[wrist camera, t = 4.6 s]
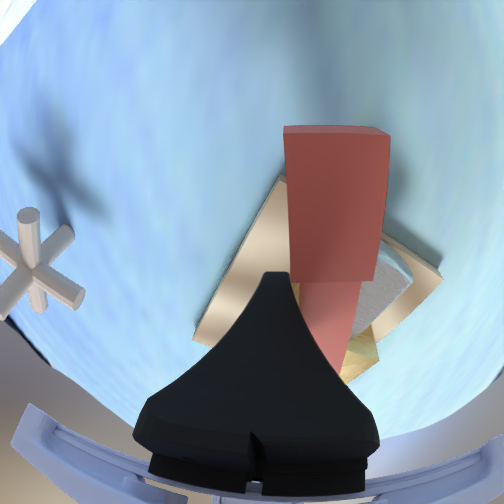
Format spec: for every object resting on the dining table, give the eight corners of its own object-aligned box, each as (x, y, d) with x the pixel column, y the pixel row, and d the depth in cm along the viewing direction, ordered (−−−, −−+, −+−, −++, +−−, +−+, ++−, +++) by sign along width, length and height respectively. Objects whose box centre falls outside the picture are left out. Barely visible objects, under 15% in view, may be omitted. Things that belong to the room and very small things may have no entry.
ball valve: (288, 369, 25) (284, 429, 19) (236, 351, 24) (223, 414, 19) (407, 250, 16) (443, 324, 11) (342, 211, 15) (368, 285, 10)
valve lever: (331, 397, 15) (331, 416, 14) (290, 398, 15) (289, 417, 14) (373, 127, 7) (390, 135, 5) (283, 126, 7) (283, 133, 6)
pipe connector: (33, 163, 16) (-55, 224, 8) (120, 210, 18) (31, 306, 10) (34, 249, 22) (-23, 312, 13) (106, 294, 23) (55, 377, 15)
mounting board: (322, 374, 26) (322, 383, 25) (195, 329, 24) (191, 339, 23) (437, 269, 17) (443, 279, 16) (279, 173, 15) (279, 180, 14)
